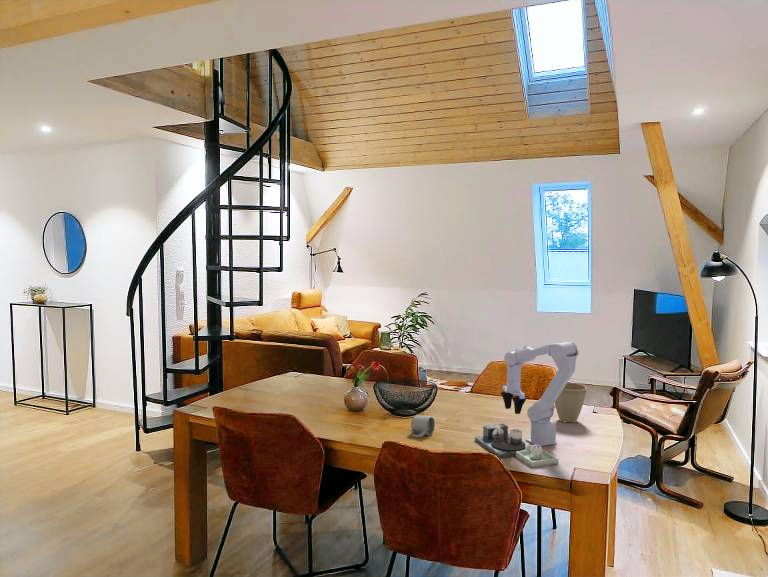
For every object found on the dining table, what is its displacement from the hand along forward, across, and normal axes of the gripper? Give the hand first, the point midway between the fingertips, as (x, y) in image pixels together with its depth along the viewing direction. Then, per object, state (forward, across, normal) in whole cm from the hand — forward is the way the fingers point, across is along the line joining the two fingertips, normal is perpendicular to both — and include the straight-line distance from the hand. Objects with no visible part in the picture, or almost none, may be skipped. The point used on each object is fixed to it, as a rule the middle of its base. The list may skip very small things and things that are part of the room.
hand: (512, 411), depth 242 cm
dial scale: (+9, +14, -12) cm, 20 cm away
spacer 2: (+9, +30, -8) cm, 32 cm away
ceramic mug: (+10, -10, -37) cm, 40 cm away
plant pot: (+10, -7, +34) cm, 36 cm away
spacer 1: (+7, +16, -8) cm, 19 cm away
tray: (+9, +30, -8) cm, 32 cm away
